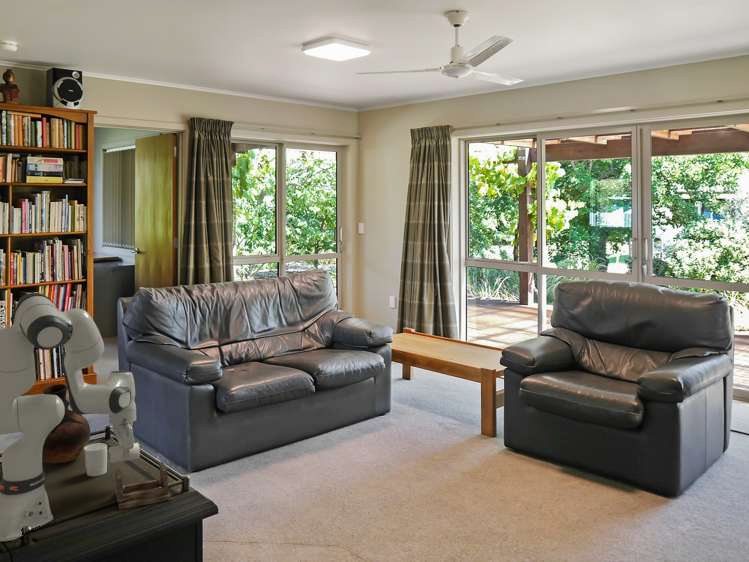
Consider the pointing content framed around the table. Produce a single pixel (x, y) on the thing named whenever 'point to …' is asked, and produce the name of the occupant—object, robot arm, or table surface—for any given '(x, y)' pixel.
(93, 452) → the white cup
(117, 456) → the paper roll
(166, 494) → the roll holder
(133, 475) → the table surface
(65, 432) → the ceramic vessel
